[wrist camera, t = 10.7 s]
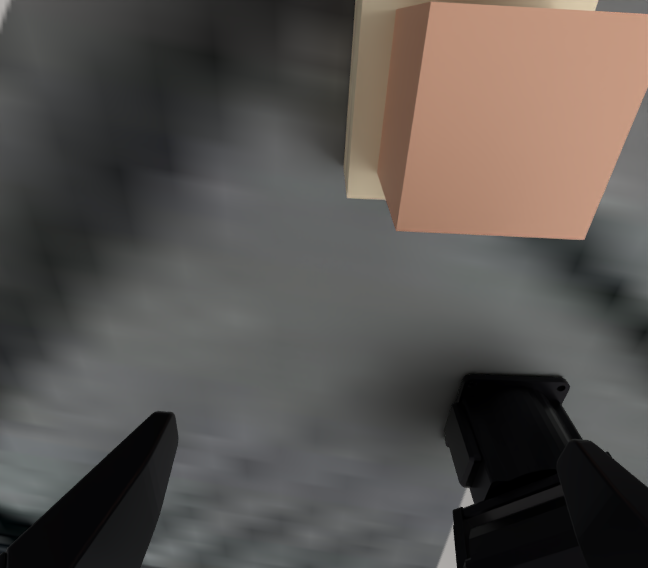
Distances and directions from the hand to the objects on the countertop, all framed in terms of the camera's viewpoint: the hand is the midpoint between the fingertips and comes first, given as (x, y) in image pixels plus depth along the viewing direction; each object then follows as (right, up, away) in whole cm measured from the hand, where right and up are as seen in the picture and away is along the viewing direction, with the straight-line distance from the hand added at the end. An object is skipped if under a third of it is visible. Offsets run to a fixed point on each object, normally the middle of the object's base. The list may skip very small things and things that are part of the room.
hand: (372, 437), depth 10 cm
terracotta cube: (+3, +10, +4) cm, 11 cm away
